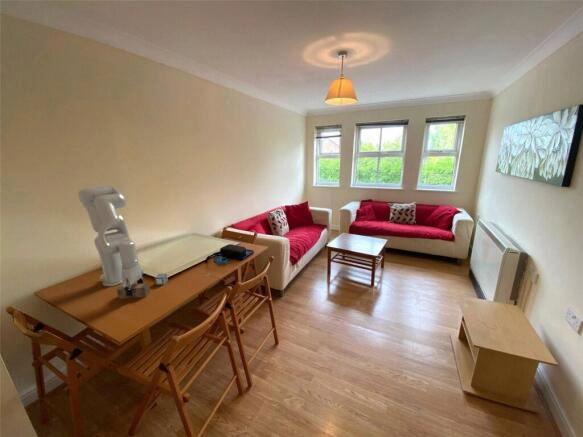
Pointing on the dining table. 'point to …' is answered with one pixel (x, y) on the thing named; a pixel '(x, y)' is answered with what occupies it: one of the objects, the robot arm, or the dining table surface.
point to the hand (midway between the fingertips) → (135, 290)
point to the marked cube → (161, 279)
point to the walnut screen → (134, 291)
